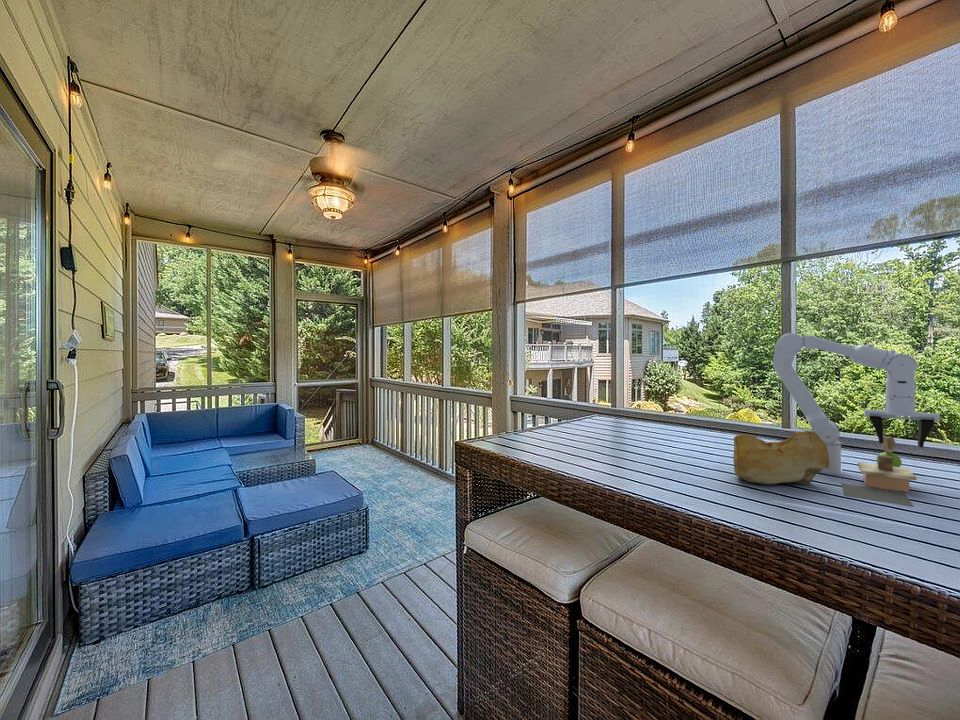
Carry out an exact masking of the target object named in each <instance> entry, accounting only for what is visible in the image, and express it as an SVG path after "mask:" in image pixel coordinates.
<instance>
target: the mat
mask: <svg viewBox="0 0 960 720" xmlns="http://www.w3.org/2000/svg"><path fill="white" fill-rule="evenodd" d="M840 484H841V488H842V492H843V496H844V497H850V498H857V499H861V500H862V499H863V500H868V501H874V502H881V503H889V504H893V505H900V506H906V507H911V508H914V507H915V506H914V504H913V503H912V501H911V500H910V499H909V497H908V495H907V494H906V492H902V491H895V490H888V489H881V488H874V487H867V486H862V485H854V484H847V483H840Z"/></svg>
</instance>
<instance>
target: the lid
mask: <svg viewBox="0 0 960 720" xmlns="http://www.w3.org/2000/svg"><path fill="white" fill-rule="evenodd" d="M877 456H878V463H877V464H875V463H874V464H873V463H866V462H858V461H857V467H858V468H859V471H860V473H861V474H862V475H863V474H870V475H878V476H886V477H893V478H901V479H908V480H909V481H910V480H911V481H917V477H916V475H915V474H914V473H913V471H912V470H910V469H909V468H908V467H901V466H900V467H893V458H892V457H891V456H884V455H879V454H877Z"/></svg>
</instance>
